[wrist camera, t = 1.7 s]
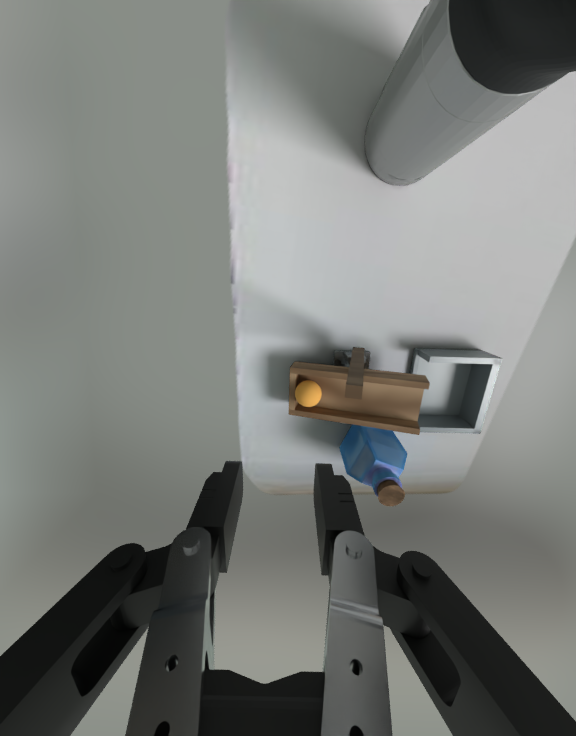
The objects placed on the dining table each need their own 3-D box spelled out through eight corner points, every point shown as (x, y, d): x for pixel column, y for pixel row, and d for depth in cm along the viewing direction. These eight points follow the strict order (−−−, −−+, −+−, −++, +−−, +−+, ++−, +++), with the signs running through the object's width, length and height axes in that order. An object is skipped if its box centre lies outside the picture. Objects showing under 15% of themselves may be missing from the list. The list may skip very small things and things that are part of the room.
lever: (295, 340, 38) (258, 373, 25) (429, 351, 33) (469, 399, 20) (293, 405, 41) (259, 466, 28) (415, 423, 37) (441, 504, 24)
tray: (414, 348, 39) (428, 356, 35) (481, 350, 39) (502, 358, 35) (401, 417, 42) (412, 432, 39) (463, 419, 42) (480, 433, 39)
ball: (298, 375, 38) (292, 384, 35) (323, 377, 37) (320, 387, 34) (297, 398, 39) (292, 409, 36) (322, 401, 39) (319, 413, 35)
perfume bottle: (391, 429, 43) (427, 484, 32) (373, 459, 45) (401, 521, 34) (356, 416, 42) (380, 468, 31) (339, 447, 44) (356, 507, 33)
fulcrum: (334, 350, 39) (338, 356, 36) (369, 351, 39) (375, 357, 36) (329, 412, 42) (332, 423, 39) (361, 413, 42) (366, 424, 39)
